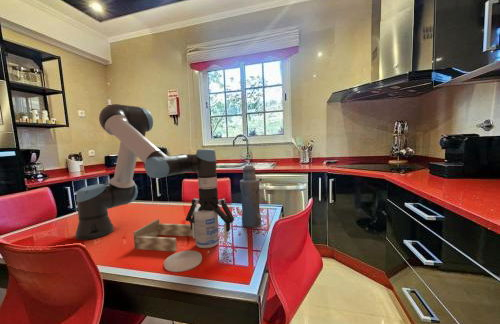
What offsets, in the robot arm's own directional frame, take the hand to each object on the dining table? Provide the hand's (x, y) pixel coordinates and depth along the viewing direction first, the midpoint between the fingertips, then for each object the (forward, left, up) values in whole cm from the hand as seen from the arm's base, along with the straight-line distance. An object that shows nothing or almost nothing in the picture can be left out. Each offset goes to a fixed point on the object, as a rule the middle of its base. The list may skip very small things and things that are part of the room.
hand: (210, 238), depth 91 cm
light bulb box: (-11, +17, -3) cm, 20 cm away
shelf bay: (-21, 0, -3) cm, 21 cm away
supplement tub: (-2, +1, -3) cm, 3 cm away
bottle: (+12, +24, -3) cm, 27 cm away
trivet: (-5, -14, -3) cm, 15 cm away
